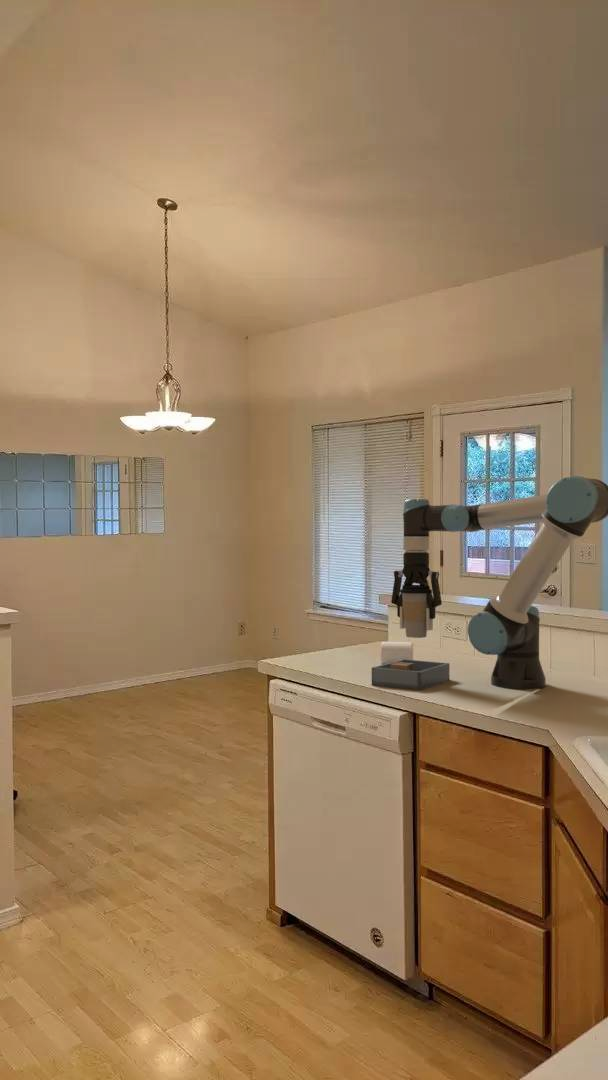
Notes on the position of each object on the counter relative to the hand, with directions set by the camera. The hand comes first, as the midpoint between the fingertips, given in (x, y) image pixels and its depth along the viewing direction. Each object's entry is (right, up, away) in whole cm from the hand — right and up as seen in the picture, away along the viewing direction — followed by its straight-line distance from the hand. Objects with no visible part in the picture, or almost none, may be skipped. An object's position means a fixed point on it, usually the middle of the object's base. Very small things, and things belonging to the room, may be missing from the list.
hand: (416, 629), depth 251 cm
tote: (-2, -15, -3) cm, 16 cm away
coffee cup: (0, -2, 0) cm, 2 cm away
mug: (-2, -15, +31) cm, 34 cm away
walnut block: (-5, -14, -8) cm, 17 cm away
